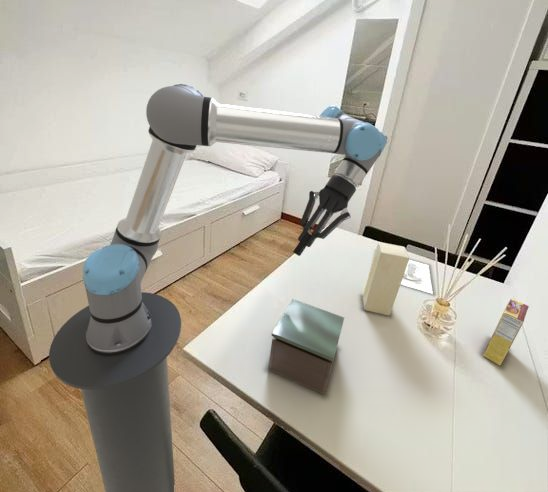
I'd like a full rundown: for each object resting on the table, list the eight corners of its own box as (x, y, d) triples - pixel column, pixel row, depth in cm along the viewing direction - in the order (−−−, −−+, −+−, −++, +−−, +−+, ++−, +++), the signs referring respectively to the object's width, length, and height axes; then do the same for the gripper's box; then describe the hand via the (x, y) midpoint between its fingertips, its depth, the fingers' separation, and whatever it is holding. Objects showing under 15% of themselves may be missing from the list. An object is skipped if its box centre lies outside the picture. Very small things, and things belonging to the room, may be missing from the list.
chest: (324, 395, 64) (332, 364, 60) (268, 369, 68) (272, 339, 65) (336, 348, 76) (343, 320, 72) (287, 329, 80) (292, 301, 76)
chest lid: (332, 361, 59) (333, 358, 59) (271, 336, 63) (271, 333, 63) (343, 320, 72) (344, 317, 72) (292, 301, 76) (292, 298, 76)
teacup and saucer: (396, 276, 109) (399, 267, 107) (396, 265, 115) (399, 256, 114) (421, 283, 106) (424, 274, 104) (420, 272, 113) (423, 263, 111)
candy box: (489, 338, 84) (511, 297, 78) (507, 348, 82) (531, 306, 76) (481, 355, 79) (504, 311, 73) (499, 366, 76) (525, 322, 70)
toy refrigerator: (387, 300, 96) (404, 245, 87) (390, 316, 89) (409, 258, 81) (362, 294, 97) (377, 240, 89) (363, 310, 90) (380, 252, 82)
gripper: (367, 196, 79) (319, 269, 79) (327, 175, 85) (282, 242, 84) (365, 188, 72) (313, 267, 72) (322, 165, 78) (273, 238, 78)
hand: (296, 253), depth 78 cm, fingers closed
